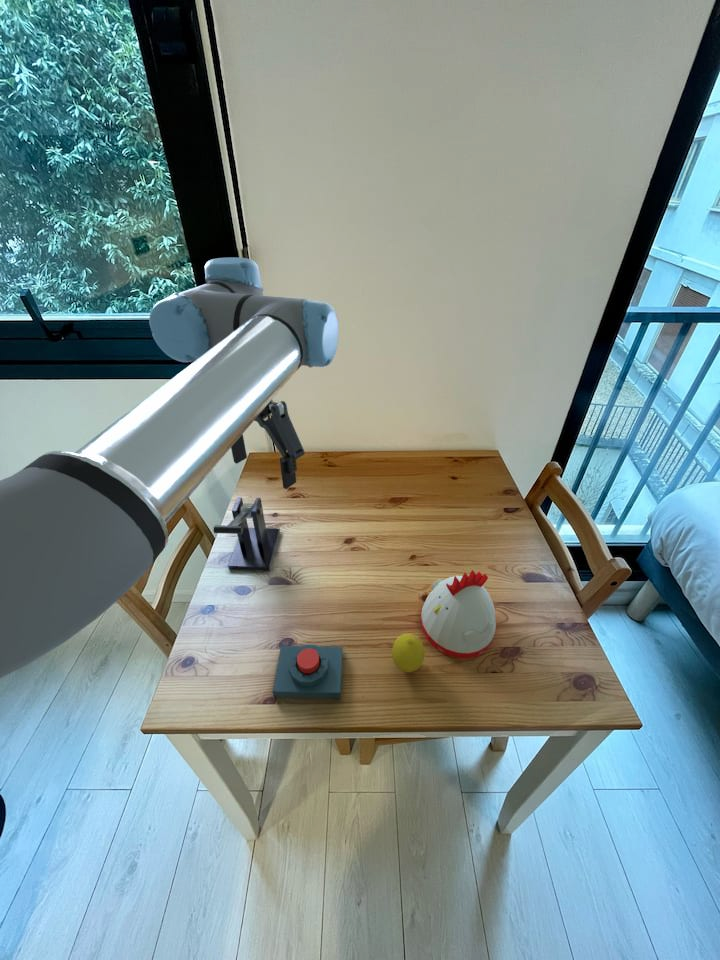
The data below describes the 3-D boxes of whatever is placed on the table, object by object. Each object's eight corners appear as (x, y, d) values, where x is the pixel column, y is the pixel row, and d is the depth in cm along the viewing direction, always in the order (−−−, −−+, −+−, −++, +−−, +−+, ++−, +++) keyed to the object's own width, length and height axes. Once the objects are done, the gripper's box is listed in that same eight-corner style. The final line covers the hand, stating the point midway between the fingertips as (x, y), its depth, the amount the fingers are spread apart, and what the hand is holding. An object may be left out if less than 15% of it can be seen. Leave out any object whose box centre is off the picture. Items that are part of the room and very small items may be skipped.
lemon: (428, 669, 72) (434, 644, 67) (404, 686, 69) (407, 662, 64) (408, 644, 75) (412, 619, 70) (384, 660, 73) (386, 635, 68)
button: (296, 674, 67) (295, 668, 66) (299, 653, 70) (298, 647, 69) (318, 674, 67) (317, 669, 66) (320, 653, 70) (319, 648, 69)
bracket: (269, 571, 89) (261, 524, 80) (228, 569, 89) (216, 523, 80) (280, 532, 98) (273, 487, 90) (243, 530, 98) (233, 485, 90)
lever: (241, 537, 74) (240, 525, 73) (213, 536, 74) (213, 524, 74) (261, 514, 88) (261, 503, 87) (238, 513, 88) (237, 503, 87)
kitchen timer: (408, 606, 82) (415, 555, 73) (467, 586, 86) (480, 535, 77) (443, 669, 72) (457, 618, 63) (508, 643, 76) (529, 592, 67)
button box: (274, 697, 67) (271, 686, 65) (282, 652, 74) (279, 640, 71) (340, 699, 67) (340, 687, 65) (342, 653, 74) (342, 641, 71)
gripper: (321, 377, 63) (326, 486, 76) (216, 344, 74) (236, 443, 87) (287, 394, 58) (298, 507, 71) (181, 355, 70) (207, 458, 82)
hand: (264, 472), depth 79 cm, fingers open, 13 cm apart
